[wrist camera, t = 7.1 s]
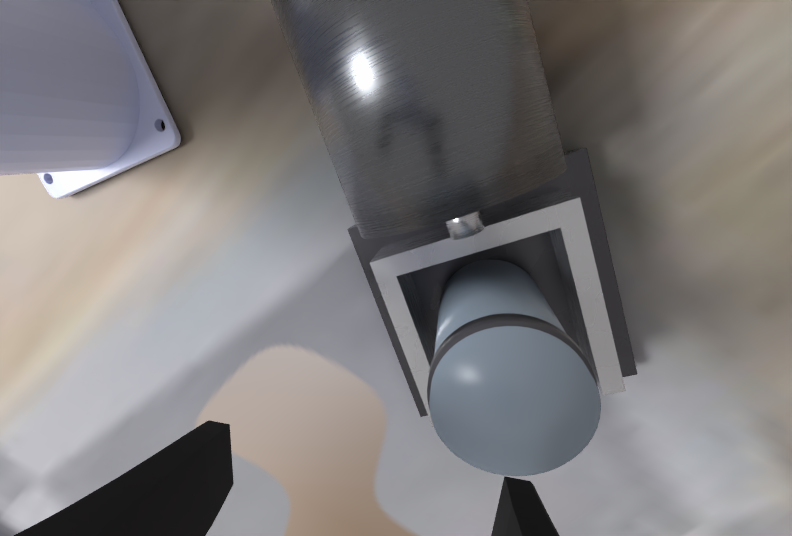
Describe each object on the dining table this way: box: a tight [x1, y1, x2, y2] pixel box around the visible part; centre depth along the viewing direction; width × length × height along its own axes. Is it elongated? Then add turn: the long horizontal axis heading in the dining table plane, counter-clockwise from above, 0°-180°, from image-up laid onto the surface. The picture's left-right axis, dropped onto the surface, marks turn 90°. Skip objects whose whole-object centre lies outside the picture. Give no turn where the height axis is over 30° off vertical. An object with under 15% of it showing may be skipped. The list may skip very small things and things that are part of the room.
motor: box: [271, 0, 637, 427], centre depth 13 cm, size 19×10×7 cm, turn 20°
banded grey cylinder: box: [427, 260, 601, 476], centre depth 13 cm, size 5×5×7 cm
